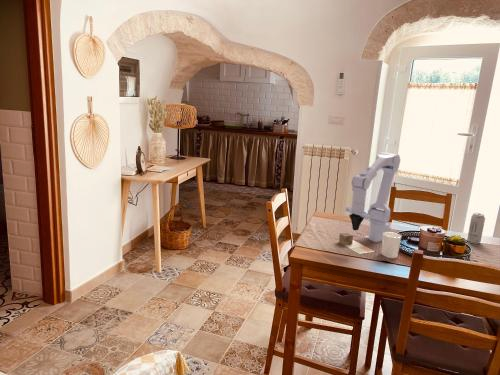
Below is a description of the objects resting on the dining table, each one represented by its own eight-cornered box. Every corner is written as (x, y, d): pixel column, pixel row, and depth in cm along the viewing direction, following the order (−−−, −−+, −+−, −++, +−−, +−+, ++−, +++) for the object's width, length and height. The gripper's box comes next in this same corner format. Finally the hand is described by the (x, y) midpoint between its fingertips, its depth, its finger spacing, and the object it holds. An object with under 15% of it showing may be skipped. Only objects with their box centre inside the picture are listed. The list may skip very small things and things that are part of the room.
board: (352, 240, 190) (352, 239, 190) (374, 252, 176) (374, 251, 176) (337, 242, 187) (337, 241, 187) (359, 254, 173) (359, 253, 172)
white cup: (396, 260, 168) (399, 239, 166) (378, 256, 172) (381, 235, 170) (400, 254, 175) (403, 234, 172) (382, 250, 179) (385, 230, 176)
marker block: (346, 241, 188) (347, 232, 187) (352, 244, 184) (353, 235, 183) (338, 242, 186) (339, 233, 185) (344, 245, 182) (345, 236, 181)
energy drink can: (464, 240, 198) (469, 213, 194) (471, 239, 201) (476, 212, 197) (475, 244, 193) (481, 216, 189) (482, 243, 195) (488, 215, 192)
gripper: (341, 198, 179) (338, 225, 182) (362, 206, 166) (359, 235, 169) (353, 197, 182) (350, 224, 185) (374, 205, 169) (371, 234, 172)
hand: (355, 229), depth 177 cm, fingers closed
